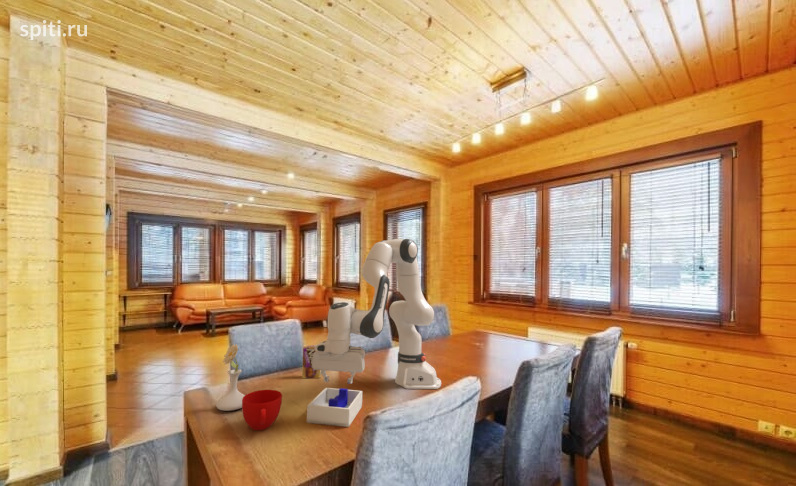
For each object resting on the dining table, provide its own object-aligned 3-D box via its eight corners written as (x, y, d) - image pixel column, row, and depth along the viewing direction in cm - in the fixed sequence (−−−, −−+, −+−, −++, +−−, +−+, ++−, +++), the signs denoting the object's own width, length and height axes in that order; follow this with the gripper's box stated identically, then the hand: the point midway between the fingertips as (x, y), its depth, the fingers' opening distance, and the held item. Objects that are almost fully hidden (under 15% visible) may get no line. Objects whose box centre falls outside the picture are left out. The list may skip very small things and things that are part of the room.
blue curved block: (336, 403, 134) (337, 387, 134) (347, 404, 133) (347, 388, 133) (324, 416, 122) (324, 399, 123) (336, 417, 121) (336, 400, 122)
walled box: (361, 406, 134) (362, 390, 135) (348, 426, 117) (349, 409, 118) (325, 402, 137) (325, 387, 137) (306, 422, 120) (307, 405, 120)
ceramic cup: (239, 444, 104) (241, 411, 105) (241, 420, 120) (242, 392, 120) (283, 436, 109) (284, 405, 110) (279, 415, 125) (280, 387, 126)
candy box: (320, 375, 170) (322, 344, 171) (320, 378, 166) (321, 346, 167) (302, 375, 169) (304, 345, 170) (301, 378, 165) (303, 347, 166)
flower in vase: (217, 403, 133) (221, 340, 135) (248, 399, 138) (252, 338, 140) (213, 417, 121) (218, 347, 123) (248, 413, 126) (251, 345, 128)
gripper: (367, 345, 130) (366, 381, 130) (317, 342, 134) (316, 377, 133) (362, 349, 124) (362, 387, 123) (310, 346, 127) (309, 383, 127)
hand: (338, 382), depth 128 cm, fingers open, 8 cm apart
